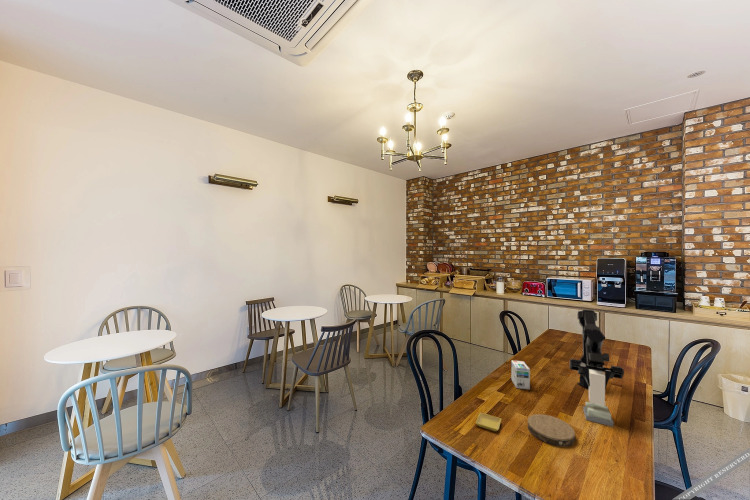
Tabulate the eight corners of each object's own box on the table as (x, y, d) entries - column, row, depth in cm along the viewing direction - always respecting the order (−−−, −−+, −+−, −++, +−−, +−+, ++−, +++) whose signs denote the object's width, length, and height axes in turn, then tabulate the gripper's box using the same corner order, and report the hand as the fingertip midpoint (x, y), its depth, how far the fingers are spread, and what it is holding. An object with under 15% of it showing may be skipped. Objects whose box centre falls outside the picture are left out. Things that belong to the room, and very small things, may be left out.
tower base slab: (583, 411, 130) (583, 405, 130) (608, 417, 125) (608, 411, 125) (586, 421, 122) (586, 415, 122) (613, 428, 117) (613, 422, 117)
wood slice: (520, 420, 121) (520, 413, 121) (558, 421, 121) (558, 414, 121) (540, 446, 105) (541, 438, 105) (585, 448, 105) (585, 439, 105)
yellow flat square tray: (498, 435, 112) (498, 429, 112) (475, 427, 117) (475, 422, 117) (501, 423, 119) (501, 418, 119) (480, 416, 124) (480, 412, 124)
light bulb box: (530, 389, 148) (530, 368, 148) (516, 388, 149) (516, 367, 149) (523, 380, 158) (524, 361, 158) (510, 379, 159) (510, 359, 159)
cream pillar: (588, 397, 127) (588, 369, 127) (602, 400, 125) (603, 371, 124) (589, 402, 123) (590, 373, 123) (604, 405, 120) (605, 376, 120)
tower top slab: (585, 407, 129) (585, 401, 129) (606, 411, 125) (606, 405, 125) (588, 415, 122) (588, 409, 122) (610, 420, 118) (611, 414, 118)
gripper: (570, 341, 132) (571, 374, 122) (623, 348, 122) (629, 385, 113) (569, 352, 139) (570, 385, 129) (619, 360, 129) (624, 396, 120)
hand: (597, 387), depth 123 cm, fingers closed on cream pillar, 5 cm apart
